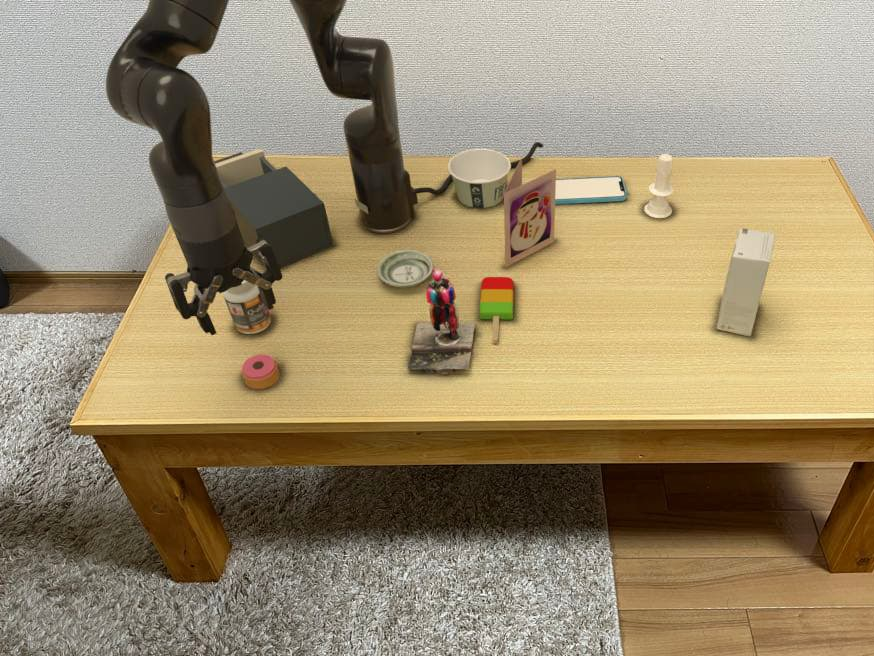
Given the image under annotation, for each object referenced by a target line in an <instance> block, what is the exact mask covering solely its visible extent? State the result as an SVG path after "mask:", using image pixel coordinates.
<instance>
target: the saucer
mask: <svg viewBox="0 0 874 656" xmlns="http://www.w3.org/2000/svg"><path fill="white" fill-rule="evenodd" d="M433 270H434V262H433V260H432V258H431V257H430V256H429V255H428V254H426V253H424V252H421V251H419V250H415V249H401V250H396V251H392V252H391V253H388V254H387V255H385V256H384V257H382V259H380V261H379V262H378V263H377V266H376V275H377V276H378V278H379V280H380V281H382V282H383V283H384V284H386V285H388V286H390V287H391V286H392V287H395V288H401V289H402V288H413V287H415V286H419V285H420V284H422V283H423V282H425V281H426V280H428V279H429V278H430V277H431V275H433Z"/></svg>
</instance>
